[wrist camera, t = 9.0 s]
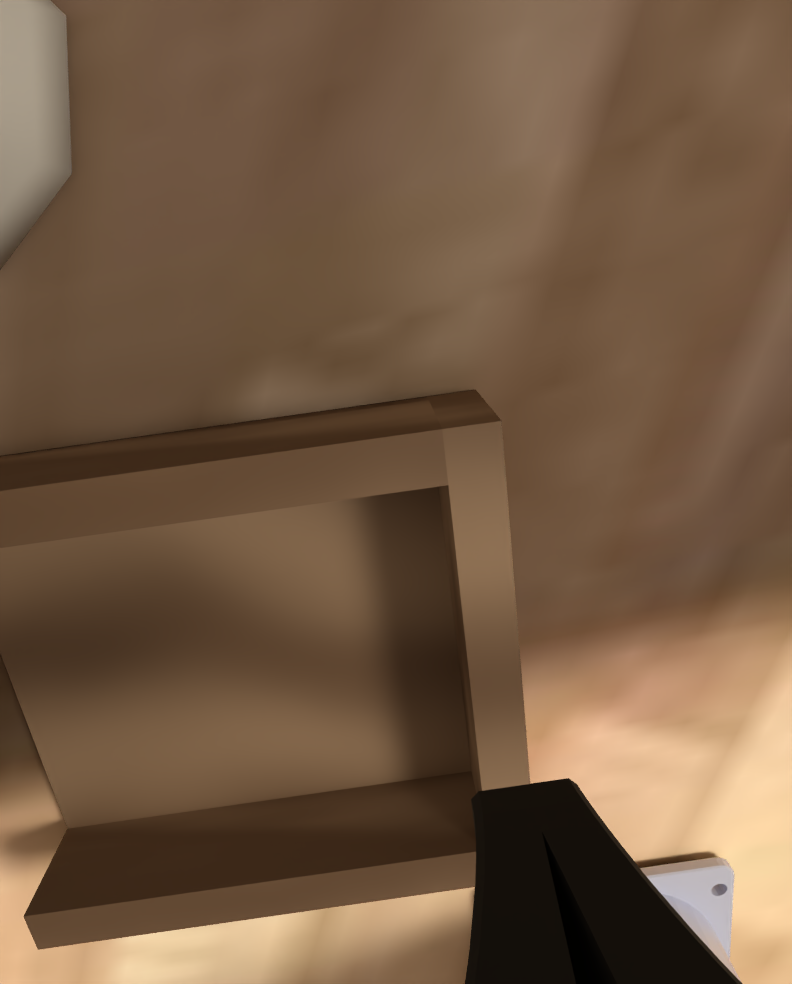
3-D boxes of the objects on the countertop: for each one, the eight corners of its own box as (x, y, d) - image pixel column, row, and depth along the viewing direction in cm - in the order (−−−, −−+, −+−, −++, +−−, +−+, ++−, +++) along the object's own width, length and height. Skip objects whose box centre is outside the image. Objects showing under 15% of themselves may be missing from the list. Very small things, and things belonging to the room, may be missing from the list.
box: (511, 786, 21) (537, 878, 18) (84, 848, 21) (37, 949, 18) (475, 389, 17) (501, 420, 14) (-61, 464, 17) (-154, 512, 14)
